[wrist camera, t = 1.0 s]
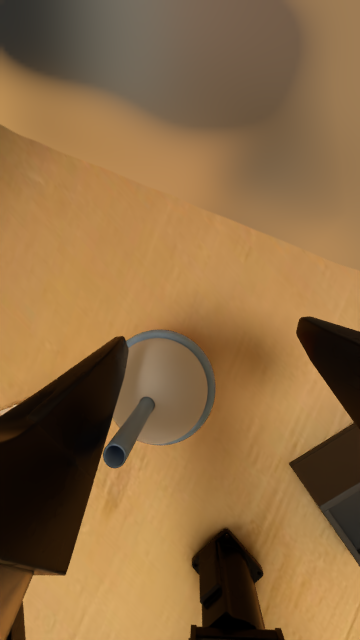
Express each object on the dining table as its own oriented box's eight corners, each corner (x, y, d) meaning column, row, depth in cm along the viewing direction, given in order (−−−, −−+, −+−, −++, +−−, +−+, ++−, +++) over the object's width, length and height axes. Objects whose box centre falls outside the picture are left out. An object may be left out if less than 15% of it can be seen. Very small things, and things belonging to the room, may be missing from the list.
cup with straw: (221, 360, 24) (299, 458, 6) (176, 409, 24) (119, 648, 6) (171, 315, 25) (109, 282, 7) (129, 363, 25) (-42, 453, 7)
